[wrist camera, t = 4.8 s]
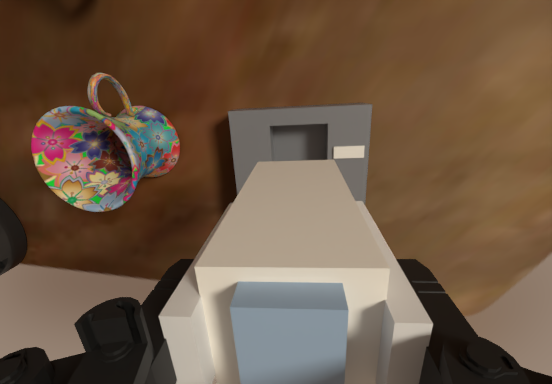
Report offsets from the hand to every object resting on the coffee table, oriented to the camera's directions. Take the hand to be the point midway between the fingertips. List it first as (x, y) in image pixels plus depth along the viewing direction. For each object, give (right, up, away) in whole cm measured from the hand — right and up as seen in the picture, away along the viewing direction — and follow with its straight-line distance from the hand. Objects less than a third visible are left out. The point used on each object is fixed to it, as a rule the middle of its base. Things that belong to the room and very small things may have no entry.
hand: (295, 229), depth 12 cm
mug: (-16, +9, +20) cm, 27 cm away
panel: (+2, +3, +20) cm, 21 cm away
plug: (0, +1, +4) cm, 4 cm away
